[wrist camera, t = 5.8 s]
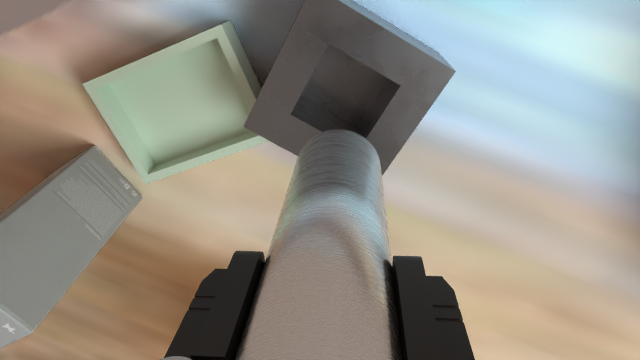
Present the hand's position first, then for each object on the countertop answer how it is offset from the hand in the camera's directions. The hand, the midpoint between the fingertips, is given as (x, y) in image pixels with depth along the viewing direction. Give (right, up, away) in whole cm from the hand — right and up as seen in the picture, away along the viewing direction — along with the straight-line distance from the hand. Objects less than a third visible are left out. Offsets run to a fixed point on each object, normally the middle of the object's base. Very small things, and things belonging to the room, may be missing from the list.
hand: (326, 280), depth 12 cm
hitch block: (+2, +11, +21) cm, 23 cm away
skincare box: (-21, +2, +28) cm, 35 cm away
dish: (-11, +9, +23) cm, 27 cm away
